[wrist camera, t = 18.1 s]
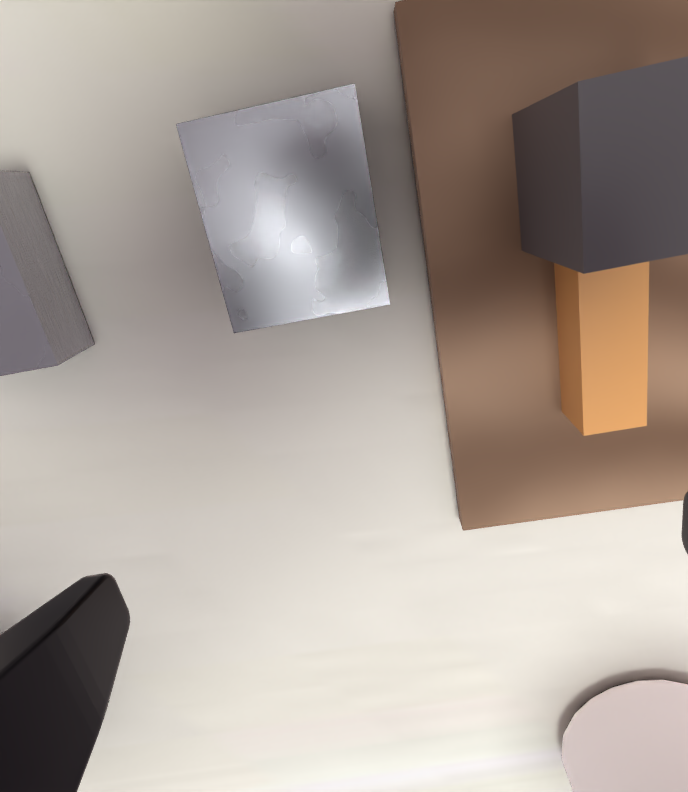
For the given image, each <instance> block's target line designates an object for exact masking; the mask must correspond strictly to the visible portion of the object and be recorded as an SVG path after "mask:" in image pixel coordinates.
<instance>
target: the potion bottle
mask: <svg viewBox="0 0 688 792" xmlns="http://www.w3.org/2000/svg"><path fill="white" fill-rule="evenodd" d="M562 761H563V764H564V767H565V770H566V773H567V776H568V778H569V781H570V784H571V787H572V790H573V792H688V684H683V683H678V682H673V681H667V680H642V681H634V682H630V683H627V684H623V685H619V686H615V687H612V688H610V689H608V690H606V691H604V692H603V693H601V694H599V695H597V696H595V697H593V698H591V699H590V700H589V701H588V702H587V703H586V704H585V705H584V706H582V707H581V708H580V709H579V710H578V711H577V712H576V713H575V715H574V716H573V718H572V720H571V721H570V723H569V725H568V727H567V729H566V730H565V732H564V735H563V743H562Z"/></svg>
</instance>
